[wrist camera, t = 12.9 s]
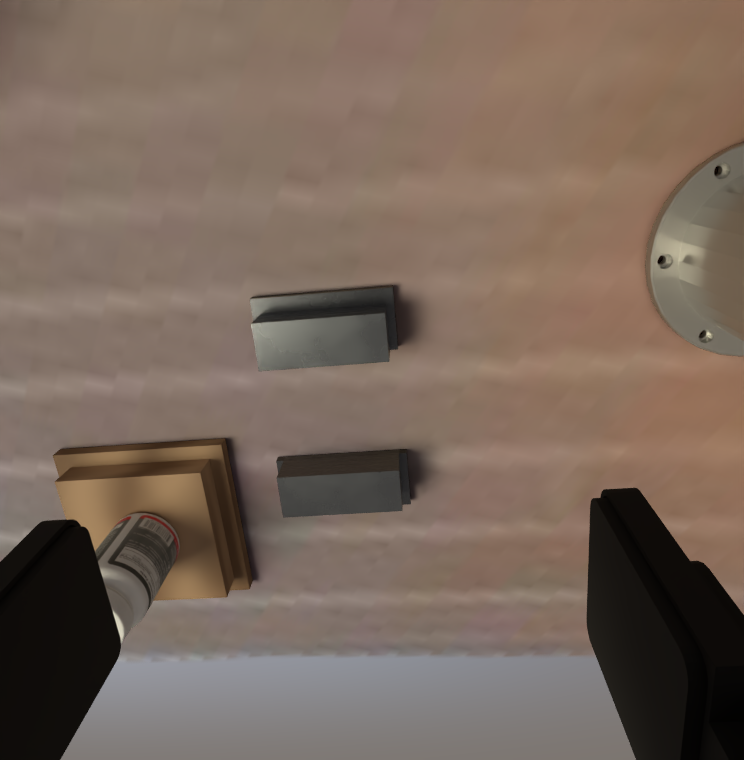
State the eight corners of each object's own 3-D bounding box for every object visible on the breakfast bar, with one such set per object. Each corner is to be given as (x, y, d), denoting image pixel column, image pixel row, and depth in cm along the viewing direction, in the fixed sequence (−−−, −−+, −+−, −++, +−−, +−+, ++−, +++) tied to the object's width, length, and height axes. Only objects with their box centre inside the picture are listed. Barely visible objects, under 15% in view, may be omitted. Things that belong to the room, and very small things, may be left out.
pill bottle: (123, 570, 43) (60, 663, 35) (106, 513, 41) (35, 596, 33) (188, 566, 42) (139, 659, 34) (173, 508, 41) (118, 591, 33)
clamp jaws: (392, 285, 38) (392, 295, 35) (410, 499, 43) (411, 523, 40) (252, 297, 38) (240, 307, 36) (286, 506, 44) (278, 530, 41)
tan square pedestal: (225, 438, 42) (212, 458, 39) (252, 580, 46) (242, 607, 43) (60, 449, 43) (36, 469, 40) (101, 587, 47) (82, 614, 44)
